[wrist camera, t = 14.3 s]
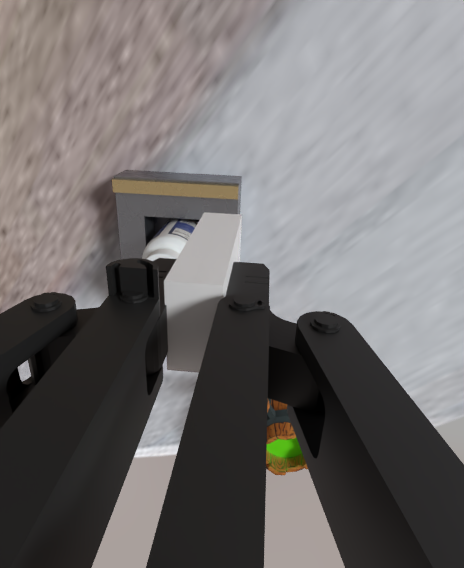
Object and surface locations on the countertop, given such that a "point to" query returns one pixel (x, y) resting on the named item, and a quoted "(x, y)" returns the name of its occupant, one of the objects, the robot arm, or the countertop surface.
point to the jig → (167, 202)
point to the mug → (282, 441)
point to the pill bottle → (170, 239)
